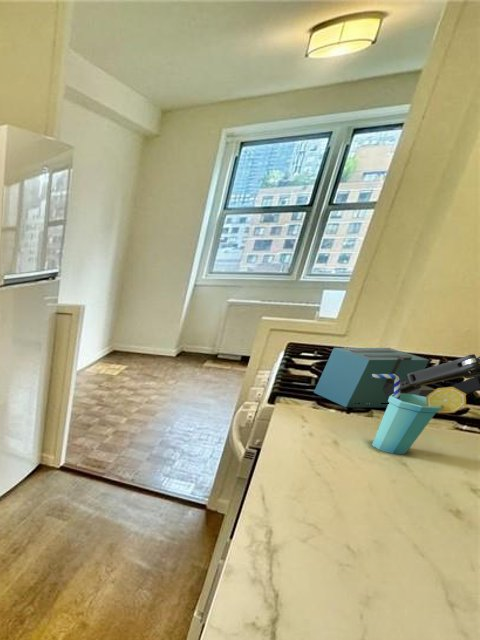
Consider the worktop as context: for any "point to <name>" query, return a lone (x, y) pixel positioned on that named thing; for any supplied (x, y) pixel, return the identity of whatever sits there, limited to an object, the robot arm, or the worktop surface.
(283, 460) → the worktop surface
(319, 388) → the toaster
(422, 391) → the toaster lever
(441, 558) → the worktop surface
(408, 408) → the cup
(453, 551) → the worktop surface
